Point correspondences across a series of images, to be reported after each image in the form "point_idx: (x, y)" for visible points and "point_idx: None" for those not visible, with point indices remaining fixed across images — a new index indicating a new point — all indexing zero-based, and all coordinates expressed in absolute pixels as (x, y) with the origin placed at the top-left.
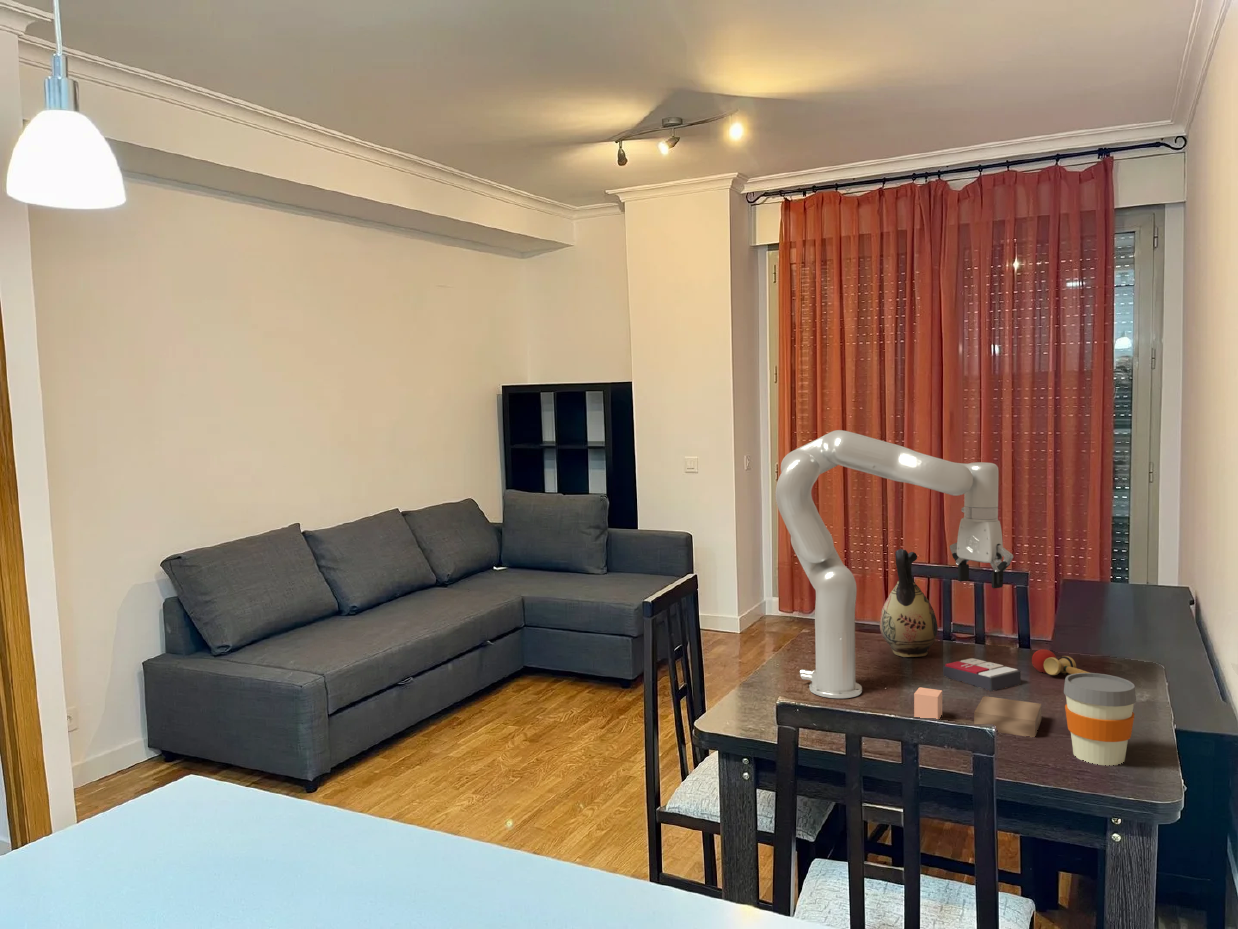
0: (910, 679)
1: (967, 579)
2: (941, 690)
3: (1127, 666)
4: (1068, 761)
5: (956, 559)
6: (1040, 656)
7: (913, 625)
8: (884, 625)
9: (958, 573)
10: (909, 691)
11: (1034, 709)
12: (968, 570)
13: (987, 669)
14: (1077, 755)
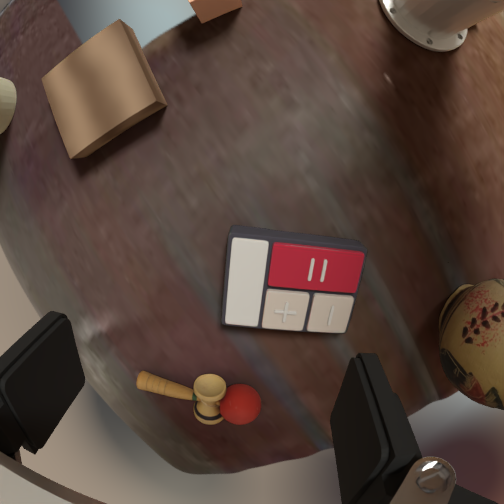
0: (392, 167)
1: (334, 414)
2: (190, 1)
3: (189, 458)
4: (11, 63)
5: (455, 501)
6: (235, 400)
7: (482, 316)
8: None
9: (389, 394)
10: (344, 93)
11: (62, 121)
12: (340, 472)
13: (268, 279)
14: (6, 79)
